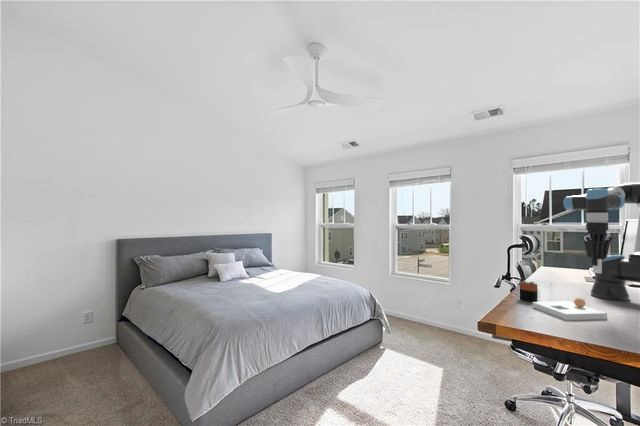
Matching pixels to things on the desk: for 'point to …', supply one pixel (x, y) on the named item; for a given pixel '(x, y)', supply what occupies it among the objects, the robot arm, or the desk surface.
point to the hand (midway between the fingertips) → (597, 272)
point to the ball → (579, 302)
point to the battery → (528, 291)
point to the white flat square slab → (569, 310)
